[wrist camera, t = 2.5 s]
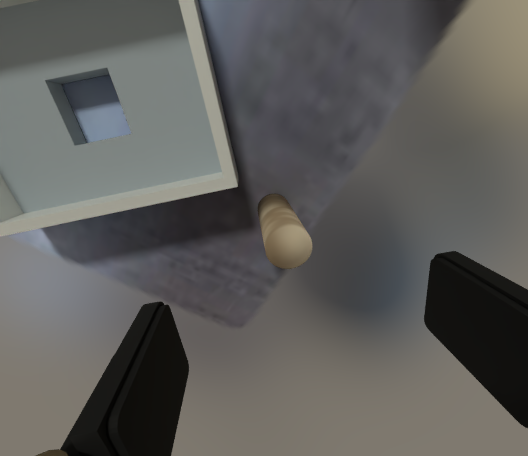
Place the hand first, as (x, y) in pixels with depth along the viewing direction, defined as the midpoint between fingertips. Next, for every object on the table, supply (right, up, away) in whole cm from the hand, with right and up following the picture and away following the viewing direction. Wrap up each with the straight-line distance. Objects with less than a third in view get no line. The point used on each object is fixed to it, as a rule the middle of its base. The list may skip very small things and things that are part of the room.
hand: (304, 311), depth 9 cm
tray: (-17, +14, +14) cm, 26 cm away
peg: (0, +5, +20) cm, 20 cm away
